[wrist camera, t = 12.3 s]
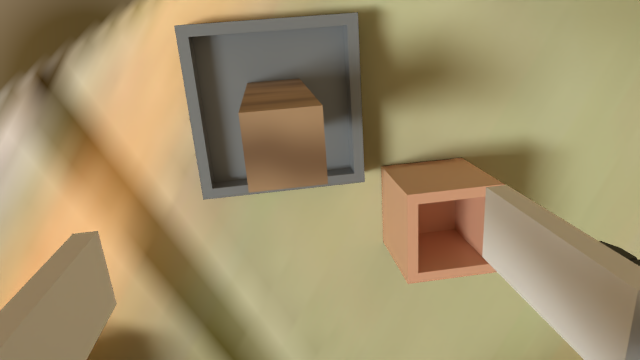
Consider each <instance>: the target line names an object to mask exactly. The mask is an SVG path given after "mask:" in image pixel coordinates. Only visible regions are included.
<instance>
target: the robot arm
mask: <svg viewBox="0 0 640 360" xmlns="http://www.w3.org/2000/svg"><path fill="white" fill-rule="evenodd" d="M482 257H483V258H484V259H485V260H486V261H487V262H488V263H489V264H490V265H491V266H492V267H493V268H494V269H495V270H496V271H497V272H498V273H499V274H500V275H501V276H502V277H503V278H504V279H505V280H506V281H507V282H508V283H509V284H510V285H511V286H512V287H513V288H514V289H515V290H516V292H517V293H518V294H519V295H520V296H521V297H522V298H523V299H524V300H525V301H526V302H527V303H528V304H529V305H530V306H531V307H532V308H533V309H534V310H535V311H536V312H537V313H538V314H539V315H540V316H541V317H542V318H543V319H544V320H545V321H546V322H547V323H548V324H549V325H550V326H551V327H552V328H553V329H554V330H555V331H556V332H557V333H558V334H559V335H560V336H561V337H562V338H563V339H564V340H565V341H566V342H567V343H568V344H569V345H570V346H571V347H572V348H573V349H574V350H575V351H576V352H577V353H578V354H579V355H580V356H581V357H582V358H583V359H584V360H640V260H637V258H636V257H635V256H633V255H631V254H630V253H628V252H626V251H625V250H623V249H621V248H619V247H616V246H613V245H610V244H608V243H605V242H602V241H597V240H596V239H594V238H593V237H591V236H589V235H588V234H586V233H584V232H583V231H581V230H580V229H578V228H576V227H575V226H573V225H571V224H570V223H568V222H566V221H565V220H563V219H562V218H560V217H558V216H557V215H555V214H553V213H552V212H550V211H549V210H547V209H545V208H544V207H542V206H540V205H539V204H537V203H535V202H534V201H532V200H531V199H529V198H527V197H526V196H524V195H522V194H521V193H519V192H518V191H516V190H514V189H513V188H511V187H509V186H508V185H501V186H492V187H486V196H485V214H484V233H483V252H482ZM115 306H116V300H115V296H114V292H113V288H112V284H111V281H110V277H109V273H108V269H107V265H106V261H105V257H104V253H103V249H102V245H101V241H100V238H99V234H98V231H94V232H85V233H77V234H72V236H71V237H70V238H69V239H68V240H67V241H66V242H65V243H64V244H63V245H62V246H61V247H60V248H59V249H58V250H57V251H56V252H55V254H54V255H53V256H52V257H51V258H50V259H49V260H48V261H47V262H46V263H45V264H44V265H43V266H42V267H41V268H40V269H39V270H38V272H37V273H36V274H35V275H34V276H33V277H32V278H31V279H30V280H29V281H28V282H27V283H26V284H25V285H24V286H23V287H22V288H21V290H20V291H19V292H18V293H17V294H16V295H15V296H14V297H13V298H12V299H11V300H10V301H9V302H8V303H7V304H6V305H5V306H4V307H3V309H2V310H1V311H0V360H87V358H88V356H89V354H90V353H91V351H92V349H93V347H94V345H95V343H96V341H97V339H98V338H99V336H100V334H101V332H102V330H103V328H104V326H105V325H106V323H107V321H108V319H109V317H110V315H111V313H112V312H113V310H114V308H115Z"/></svg>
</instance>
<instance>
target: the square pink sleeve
mask: <svg viewBox="0 0 640 360" xmlns="http://www.w3.org/2000/svg"><path fill="white" fill-rule="evenodd" d="M381 178H382V214H383V242H384V244H385V246H386V247H387V249H388V251H389V252H390V254H391V256H392V257H393V259H394V261H395V263H396V264H397V266H398V268H399V269H400V271H401V273H402V275H403V276H404V278H405V280H406V281H407V283H408V284H410V283H418V282H425V281H433V280H440V279H448V278H455V277H463V276H470V275H478V274H485V273H493V272H497V271H496V270H495V269H494V268H493V267H492V266H491V265H490V264H489V263H488V262H487V261H486V260H485V259H484V258H483V257H482V252H483V233H484V214H485V196H486V187H492V186H501V185H504V184H503V183H502V182H500V181H499V180H497V179H495V178H494V177H492V176H490V175H489V174H487V173H486V172H484V171H482V170H481V169H479V168H477V167H476V166H474V165H473V164H471V163H469V162H468V161H466V160H465V159H463V158H454V159H445V160H435V161H426V162H416V163H407V164H398V165H388V166H381Z"/></svg>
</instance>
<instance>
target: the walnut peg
mask: <svg viewBox="0 0 640 360" xmlns="http://www.w3.org/2000/svg"><path fill="white" fill-rule="evenodd" d="M238 114H239V121H240V129H241V137H242V144H243V152H244V160H245V167H246V175H247V183H248V190H249V193H251V192H260V191H269V190H278V189H287V188H297V187H306V186H315V185H324V184H328V176H327V162H326V147H325V133H324V118H323V105H322V104H321V103H320V102H319V101H318V99H317V98H316V97H315V96H314V95H313V94H312V92H311V91H310V90H309V89H308V88H307V87H306V85H305V84H304V83H303V82H302V81H301V80H300V79H288V80H276V81H264V82H253V83H247V86H246V89H245V92H244V96H243V99H242V103H241V106H240V109H239V113H238Z"/></svg>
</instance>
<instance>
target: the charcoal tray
mask: <svg viewBox="0 0 640 360" xmlns="http://www.w3.org/2000/svg"><path fill="white" fill-rule="evenodd" d="M174 27H175V33H176V38H177V44H178V50H179V56H180V62H181V68H182V74H183V80H184V86H185V92H186V98H187V104H188V110H189V116H190V122H191V128H192V134H193V140H194V146H195V152H196V158H197V164H198V170H199V176H200V182H201V188H202V194H203V200H204V199H213V198H222V197H231V196H241V195H250V194H259V193H268V192H277V191H286V190H295V189H305V188H314V187H323V186H332V185H341V184H350V183H360V182H365V177H364V152H363V128H362V103H361V78H360V53H359V28H358V13H344V14H330V15H316V16H302V17H288V18H274V19H260V20H246V21H232V22H218V23H204V24H190V25H177V26H174ZM288 79H300V80H301V81H302V82H303V83H304V84H305V85H306V87H307V88H308V89H309V90H310V91H311V92H312V94H313V95H314V96H315V97H316V98H317V99H318V101H319V102H320V103H321V104H322V105H323V118H324V133H325V147H326V162H327V176H328V184H324V185H315V186H306V187H297V188H287V189H278V190H269V191H260V192H251V193H249V190H248V183H247V175H246V167H245V160H244V152H243V144H242V137H241V129H240V121H239V114H238V113H239V109H240V106H241V103H242V99H243V96H244V92H245V89H246V86H247V83H253V82H264V81H276V80H288Z"/></svg>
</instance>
